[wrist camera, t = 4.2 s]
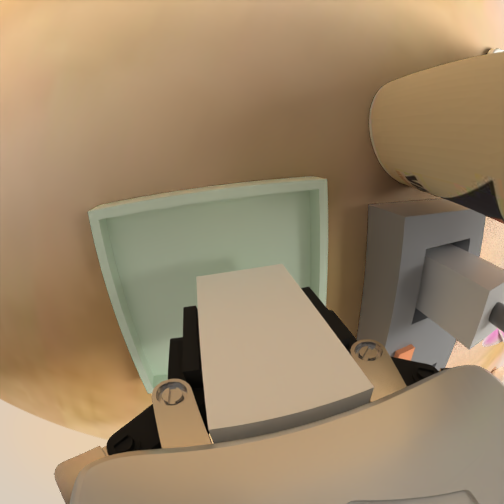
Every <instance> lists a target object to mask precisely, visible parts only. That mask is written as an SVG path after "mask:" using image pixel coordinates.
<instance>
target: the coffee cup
mask: <svg viewBox="0 0 504 504" xmlns="http://www.w3.org/2000/svg"><path fill="white" fill-rule="evenodd" d="M369 132H370V138H371V143H372V146H373V149H374V152H375V154H376V157H377V159H378V161H379V162H380V164H381V166H382V167H383V168H384V170H385V171H386V172H387V173H388V174H389V175H390V176H391V177H392V178H393V179H395V180H396V181H398V182H400V183H402V184H405V185H408V186H410V187H413V188H416V189H418V190H421V191H424V192H427V193H430V194H433V195H435V196H438V197H441V198H444V199H446V200H449V201H451V202H454V203H456V204H459V205H462V206H464V207H466V208H469V209H471V210H474V211H476V212H478V213H481V214H483V215H485V216H488V217H490V218H492V219H495V220H497V221H499V222H501V223H504V52H498V53H492V54H486V55H481V56H476V57H471V58H467V59H462V60H458V61H454V62H450V63H447V64H443V65H439V66H436V67H432V68H429V69H426V70H422V71H419V72H416V73H413V74H410V75H407V76H404V77H401V78H399V79H396V80H393V81H391V82H389V83H387V84H385V85H384V86H383V87H381V88H380V89H379V90H378V92H377V93H376V95H375V97H374V99H373V101H372V104H371V108H370V113H369Z"/></svg>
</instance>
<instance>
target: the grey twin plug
mask: <svg viewBox="0 0 504 504" xmlns="http://www.w3.org/2000/svg"><path fill="white" fill-rule="evenodd" d="M416 308H417V309H418V310H419V311H421V312H422V313H423V314H424V315H426V316H427V317H428V318H430V319H431V320H432V321H434V322H435V323H436V324H438V325H439V326H440V327H441V328H443V329H444V330H445V331H447V332H448V333H449V334H450V335H452V336H453V337H454V338H455V339H457V340H458V341H459V342H460V343H462V344H463V345H464V346H465V347H467V348H468V349H471V348H472V347H474V346H475V345H476V344H478V343H479V342H480V341H482V340H483V339H484V338H486V337H487V336H488V335H490V334H491V333H492V332H493V331H495V330H496V329H497V328H498V329H500V330H501V331H503V332H504V269H502V268H500V267H498V266H496V265H494V264H492V263H490V262H488V261H486V260H484V259H482V258H480V257H478V256H476V255H474V254H472V253H469V252H467V251H465V250H463V249H461V248H459V247H456V246H454V245H452V244H450V243H449V244H445V245H441V246H437V247H433V248H429V249H426V252H425V259H424V266H423V272H422V278H421V283H420V289H419V294H418V299H417V303H416Z"/></svg>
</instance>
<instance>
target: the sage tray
mask: <svg viewBox="0 0 504 504" xmlns="http://www.w3.org/2000/svg"><path fill="white" fill-rule="evenodd" d="M88 216H89V221H90V226H91V231H92V235H93V239H94V244H95V248H96V252H97V256H98V260H99V263H100V267H101V271H102V274H103V278H104V281H105V285H106V288H107V291H108V294H109V297H110V301H111V304H112V307H113V310H114V313H115V315H116V318H117V321H118V324H119V327H120V329H121V332H122V335H123V337H124V340H125V342H126V345H127V347H128V350H129V352H130V355H131V357H132V360H133V362H134V364H135V367H136V369H137V371H138V373H139V376H140V378H141V380H142V382H143V384H144V386H145V388H146V391H147V393H148V394H149V393H152V392H153V389H154V388H155V387H156V386H157V385H158V384H159V383H161V382H162V381H165V380H168V361H169V346H170V339H171V338H179V337H183V308H184V307H189V306H196V307H197V309H198V304H197V281H196V277H197V276H204V275H211V274H218V273H224V272H231V271H238V270H244V269H251V268H257V267H264V266H270V265H276V264H283V265H284V267H285V268H286V269H287V271H288V272H289V273H290V275H291V276H292V277H293V279H294V280H295V281H296V283H297V284H298V285H299V286H300V288H304V287H310V288H311V289H312V291H313V292H314V293H315V294H316V295H317V297H318V298H319V299H320V300H321V302H322V303H323V304H324V305H325V307H326V297H327V272H328V185H327V179H324V178H319V177H314V176H308V177H294V178H281V179H270V180H259V181H249V182H240V183H231V184H223V185H215V186H207V187H200V188H193V189H186V190H179V191H173V192H167V193H160V194H155V195H149V196H143V197H138V198H132V199H127V200H122V201H117V202H112V203H107V204H102V205H98V206H96V207H95V208H93V209H91V210H90V211H88Z"/></svg>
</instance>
